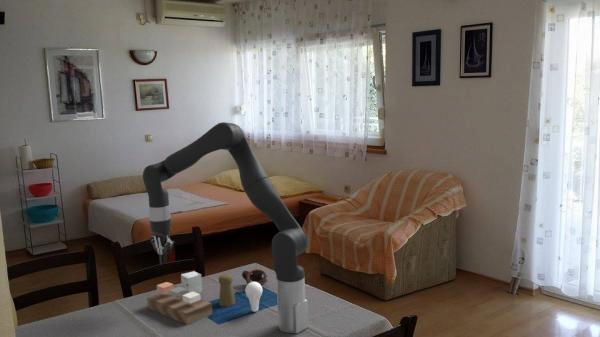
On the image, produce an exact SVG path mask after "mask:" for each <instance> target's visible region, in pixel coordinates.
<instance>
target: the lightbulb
mask: <svg viewBox="0 0 600 337" xmlns="http://www.w3.org/2000/svg"><path fill="white" fill-rule="evenodd" d="M250 282H251V283H249V284H247V285H246V287H245V291H244V292H245V295H246V297H247V299H248V300H249V305H250V310H251V311H252V312H254V313H257V312H258V311H259V306H260V305H259V304H260V298H261V296H262V295H263V285H262V286H261V285H260V284H259V283H258V282H252V281H250Z"/></svg>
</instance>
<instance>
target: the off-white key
mask: <svg viewBox="0 0 600 337" xmlns="http://www.w3.org/2000/svg"><path fill="white" fill-rule="evenodd" d="M201 296H202V295H201V293H196V292H190V293H187V294H185V295H183V301H185V302H188V303H190V304H191V303H194V302H196V301H199V300H201V299H202V297H201Z"/></svg>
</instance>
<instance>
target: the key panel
mask: <svg viewBox="0 0 600 337" xmlns="http://www.w3.org/2000/svg"><path fill="white" fill-rule="evenodd" d="M146 299H147V308H148V309H150V310H153V311H155V312H157V313H160V314H161V315H164V316H166V317H168V318H171V319H174V320H175V321H178V322H180V323H181V324H185V325H190V324H192V323H195V322H197V321H199V320H202V319H204V318H206V317H208V316H211V315H213V303H212V302H210V301H206V300H204V299H202V298H201V300H199V301H196V302H194V303H191V304H190V303H188V302H185V301H183V296H182V297H179V298H175V297H172V296H170V293H169V292H166V293H162V292H160V291H159V292H158V293H155V294H153V295H149V296H147V297H146Z"/></svg>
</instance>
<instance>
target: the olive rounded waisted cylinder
mask: <svg viewBox="0 0 600 337" xmlns="http://www.w3.org/2000/svg"><path fill="white" fill-rule="evenodd" d="M233 277H234V276H232V275H231V274H229V273H223V274H221V275H219V277H218V283H219V287H220V288H219V300H218V305H219V306H221V307H225V306H226V307H231V305H232V306H234V305H235V304H236V300H235V293H234V289H233V280H234V279H233ZM233 304H234V305H233Z"/></svg>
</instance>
